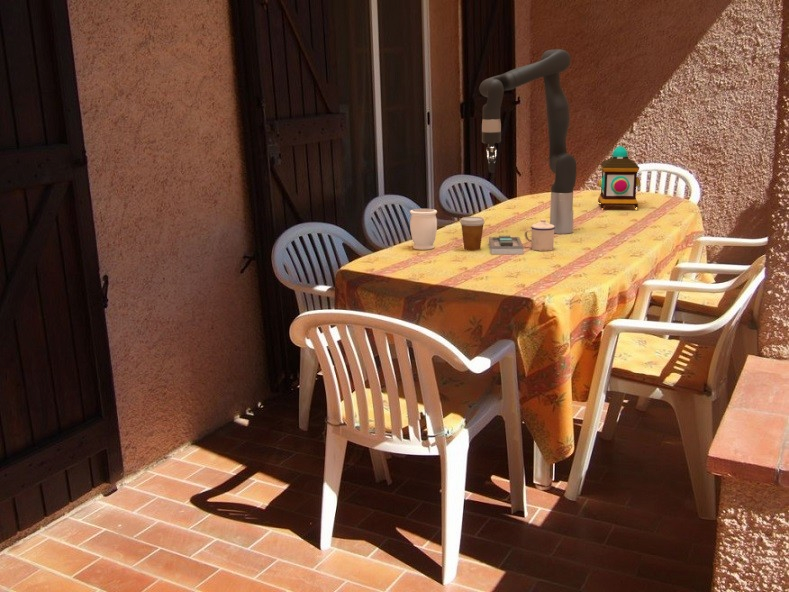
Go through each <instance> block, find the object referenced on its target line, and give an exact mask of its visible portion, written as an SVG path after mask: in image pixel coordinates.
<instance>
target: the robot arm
mask: <svg viewBox="0 0 789 592" xmlns="http://www.w3.org/2000/svg"><path fill="white" fill-rule="evenodd" d="M571 59H572V58H571V56H570V53H569V52H567V50H564V49H561V48H558V49H548V50H547V49H546V51H544V52H543V53H542V55H541V59H540V60H539V61H536V62H532V63H530V64H526V65H522V66H519V67H516V68H513V69H511V70H508V71H507V72H504V73H502V74H499V75H498V74H497V75H495V76H492V77H489V78H486V79H484V80H482V82H481V83H480V85H479V88H478V89H479V90H478V91H479V93H480V94H481V95H482V97H485V98H486V99H487V100H486V103H485V104H483V106H482V123H481V142H482V143H483V144H487V147H486V157H487V164H488V165H487V169H488V173H490V174H491V173H492V174H494V173H495V167H496V166H495V164H496V159H497V158H496V157H497V146H495V144H500V143H501V141H502V138H501V137H502V123H501V122H502V121H501V107H502V102H503V97H504V94H505V93H504V92H505V91H512V90H514V89H516V88H518V87H520V86H522V85H526V84H528V83H530V82H532V81H535V80H536V79H540V78H543V79H542V80H543V85H544V95H545V105H546V107H545V108H546V121H547V131H548V141H549V143H548V145H549V146H548V148H549V149H548V150H549V151H548V154H549V155H548V165H549V169H550V170H551V172H552V173H553V174H554V175H555V177H554V178H555V179H554V182H553V183H552V184H551V186H550V211H549V212H550V213H549V224H552V225H554V227H555V229H554V234H557V235H559V234H562V235H563V234H572V233H574V232H573V231H574V210H573V209H574V207H573V205H574V188H575V185H576V183H577V182H576V181H577V180H576V178H577V160H576V158H575V157H574V156H573V155H571V154H569V153H568V151H567V134H568V130H569V127H570V122H571V119H570V118H571V116H570V115H571V113H570V104H569V102H568V98H567V96H566V94H565V92H564V90H563V88H562V85H561V78H560V73H563V72H565V71H566V70H568V68H569V67H570V65H571Z"/></svg>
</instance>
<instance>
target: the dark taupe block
mask: <svg viewBox="0 0 789 592" xmlns="http://www.w3.org/2000/svg"><path fill="white" fill-rule="evenodd" d="M501 246H513V242H512V241H501Z"/></svg>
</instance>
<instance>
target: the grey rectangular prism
mask: <svg viewBox="0 0 789 592" xmlns="http://www.w3.org/2000/svg"><path fill="white" fill-rule="evenodd" d="M498 237H499V241H500V238H511V237H512V236H511V235H499V236H498Z"/></svg>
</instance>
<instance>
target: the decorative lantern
mask: <svg viewBox="0 0 789 592" xmlns="http://www.w3.org/2000/svg"><path fill="white" fill-rule="evenodd" d="M599 165H600V167H601V170H602V171H601V179H599V180H598V181H597V186H598V187H599V188H601V191H600V194H599V196H598V198H597V203H598V202H599V203H601V205H600V209H601V208H604V209H605V207H606V206H633V208H634V207H635V208H636V207H638V208H639V203H638V200H637V187H639V186H640V181H641V179H640V177H638V172H639V171H640V166H639V165H638V164H637V163H636V162H635V161H634V160H631V159H630V158H629V156H628V150H627V149H626V148H625V147H624V146H617V147H616V148H615V149H614V150H613V151H612V155H611V157H609V158H607V159H605V160H603V161H602V162H600V164H599Z"/></svg>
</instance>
